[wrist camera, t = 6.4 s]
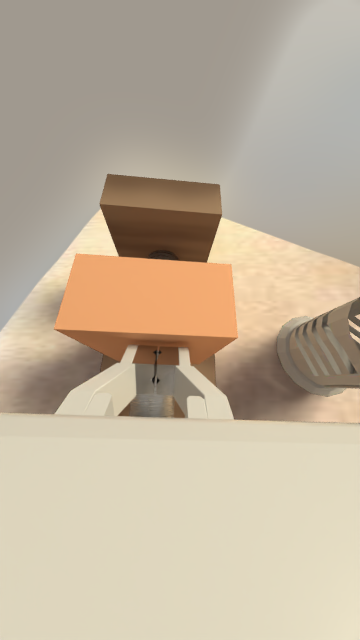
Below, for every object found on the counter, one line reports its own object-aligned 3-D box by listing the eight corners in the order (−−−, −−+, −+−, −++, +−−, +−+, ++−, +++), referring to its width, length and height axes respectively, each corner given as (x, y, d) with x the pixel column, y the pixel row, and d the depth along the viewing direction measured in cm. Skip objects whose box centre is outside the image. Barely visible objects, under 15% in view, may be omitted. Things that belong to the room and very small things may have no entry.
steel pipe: (172, 423, 13) (174, 433, 10) (132, 422, 13) (122, 432, 10) (178, 259, 18) (181, 237, 16) (150, 257, 18) (147, 234, 15)
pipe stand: (215, 459, 17) (312, 608, 6) (88, 458, 16) (-88, 624, 5) (209, 276, 24) (245, 181, 13) (121, 271, 24) (80, 165, 12)
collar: (198, 364, 18) (237, 337, 8) (118, 361, 17) (53, 329, 7) (198, 326, 19) (231, 264, 9) (123, 323, 19) (76, 253, 9)
